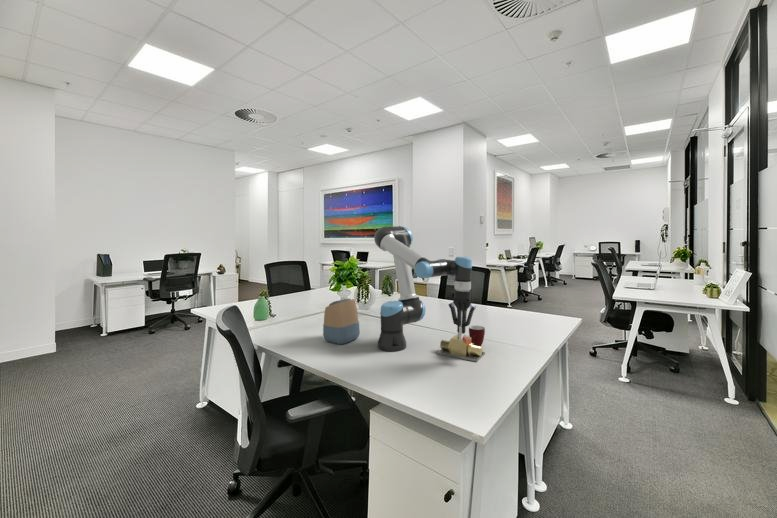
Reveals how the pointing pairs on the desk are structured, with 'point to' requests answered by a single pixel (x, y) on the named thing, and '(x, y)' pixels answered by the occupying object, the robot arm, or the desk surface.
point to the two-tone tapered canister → (341, 322)
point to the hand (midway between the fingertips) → (461, 339)
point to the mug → (477, 335)
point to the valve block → (460, 349)
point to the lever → (465, 339)
